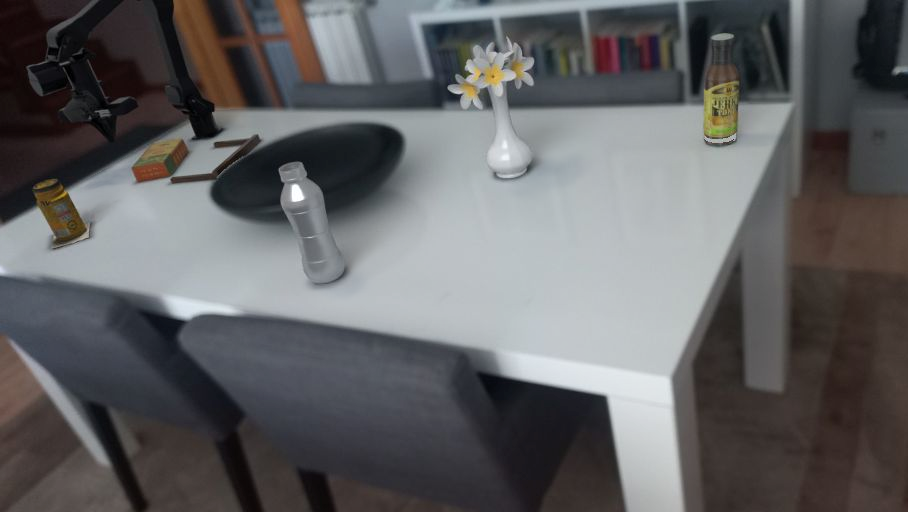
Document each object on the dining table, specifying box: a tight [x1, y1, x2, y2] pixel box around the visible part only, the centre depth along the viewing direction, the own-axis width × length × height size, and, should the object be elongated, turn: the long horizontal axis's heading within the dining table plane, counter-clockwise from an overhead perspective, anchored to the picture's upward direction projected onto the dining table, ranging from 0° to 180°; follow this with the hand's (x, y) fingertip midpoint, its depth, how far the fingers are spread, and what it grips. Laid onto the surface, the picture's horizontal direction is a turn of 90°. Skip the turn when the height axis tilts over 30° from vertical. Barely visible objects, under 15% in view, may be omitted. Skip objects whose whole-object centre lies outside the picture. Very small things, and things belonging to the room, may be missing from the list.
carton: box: [131, 137, 189, 183], centre depth 182 cm, size 8×16×4 cm, turn 4°
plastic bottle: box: [278, 161, 346, 284], centre depth 115 cm, size 6×7×20 cm
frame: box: [169, 133, 261, 184], centre depth 179 cm, size 22×13×2 cm, turn 171°
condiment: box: [31, 178, 91, 249], centre depth 151 cm, size 7×8×12 cm
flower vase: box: [447, 35, 535, 179], centre depth 137 cm, size 13×18×25 cm
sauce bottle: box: [702, 32, 740, 147], centre depth 134 cm, size 6×6×20 cm
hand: (113, 142), depth 181 cm, fingers closed
